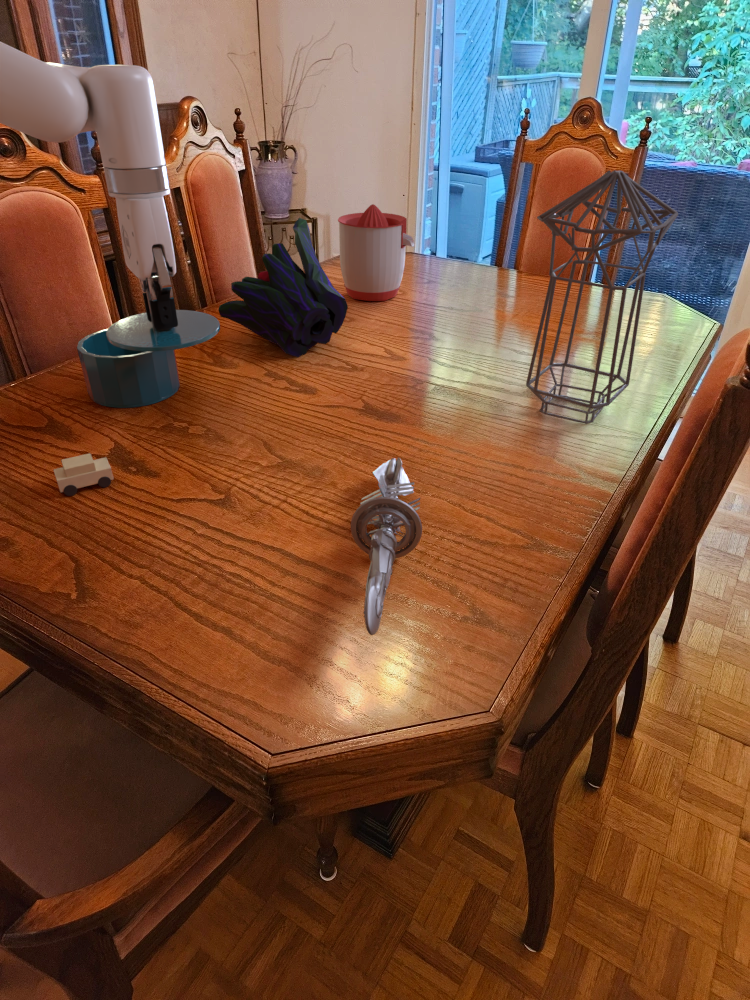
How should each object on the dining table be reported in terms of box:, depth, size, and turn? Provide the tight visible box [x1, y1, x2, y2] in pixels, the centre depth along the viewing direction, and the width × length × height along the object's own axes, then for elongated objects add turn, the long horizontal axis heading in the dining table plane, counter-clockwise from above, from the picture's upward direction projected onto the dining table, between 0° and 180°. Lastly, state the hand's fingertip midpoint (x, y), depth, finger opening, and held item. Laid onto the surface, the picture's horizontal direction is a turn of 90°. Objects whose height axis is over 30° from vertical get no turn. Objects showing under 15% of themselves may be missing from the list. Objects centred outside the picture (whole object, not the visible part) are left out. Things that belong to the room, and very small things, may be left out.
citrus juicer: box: [337, 203, 416, 302], centre depth 152 cm, size 16×17×20 cm
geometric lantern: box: [525, 169, 679, 425], centre depth 97 cm, size 16×16×35 cm
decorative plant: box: [218, 217, 349, 358], centre depth 130 cm, size 21×26×30 cm
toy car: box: [53, 452, 115, 497], centre depth 86 cm, size 7×3×4 cm, turn 119°
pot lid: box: [106, 287, 221, 351], centre depth 93 cm, size 16×16×7 cm
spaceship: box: [350, 457, 423, 636], centre depth 73 cm, size 8×35×8 cm
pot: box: [76, 328, 181, 409], centre depth 110 cm, size 15×15×8 cm
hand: (162, 322), depth 94 cm, fingers closed on pot lid, 3 cm apart
